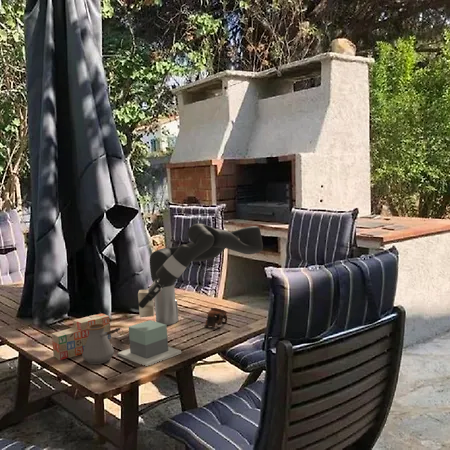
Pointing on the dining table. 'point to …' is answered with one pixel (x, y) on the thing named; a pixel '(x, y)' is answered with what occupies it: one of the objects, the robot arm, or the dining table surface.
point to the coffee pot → (98, 345)
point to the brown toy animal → (218, 319)
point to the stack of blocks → (77, 336)
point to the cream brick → (149, 307)
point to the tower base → (148, 343)
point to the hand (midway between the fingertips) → (141, 304)
